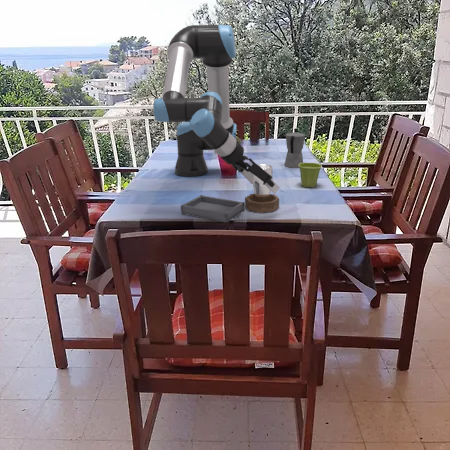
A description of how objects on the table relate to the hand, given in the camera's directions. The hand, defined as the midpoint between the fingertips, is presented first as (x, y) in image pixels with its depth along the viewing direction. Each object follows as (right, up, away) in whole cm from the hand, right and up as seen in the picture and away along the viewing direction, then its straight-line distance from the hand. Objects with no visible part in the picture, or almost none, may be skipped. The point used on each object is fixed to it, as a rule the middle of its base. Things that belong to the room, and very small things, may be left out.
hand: (265, 185), depth 152 cm
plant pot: (+21, +2, +27) cm, 34 cm away
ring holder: (-1, -7, +3) cm, 8 cm away
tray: (-18, -9, -1) cm, 21 cm away
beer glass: (-1, -8, +3) cm, 8 cm away
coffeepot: (+19, +14, +56) cm, 61 cm away
